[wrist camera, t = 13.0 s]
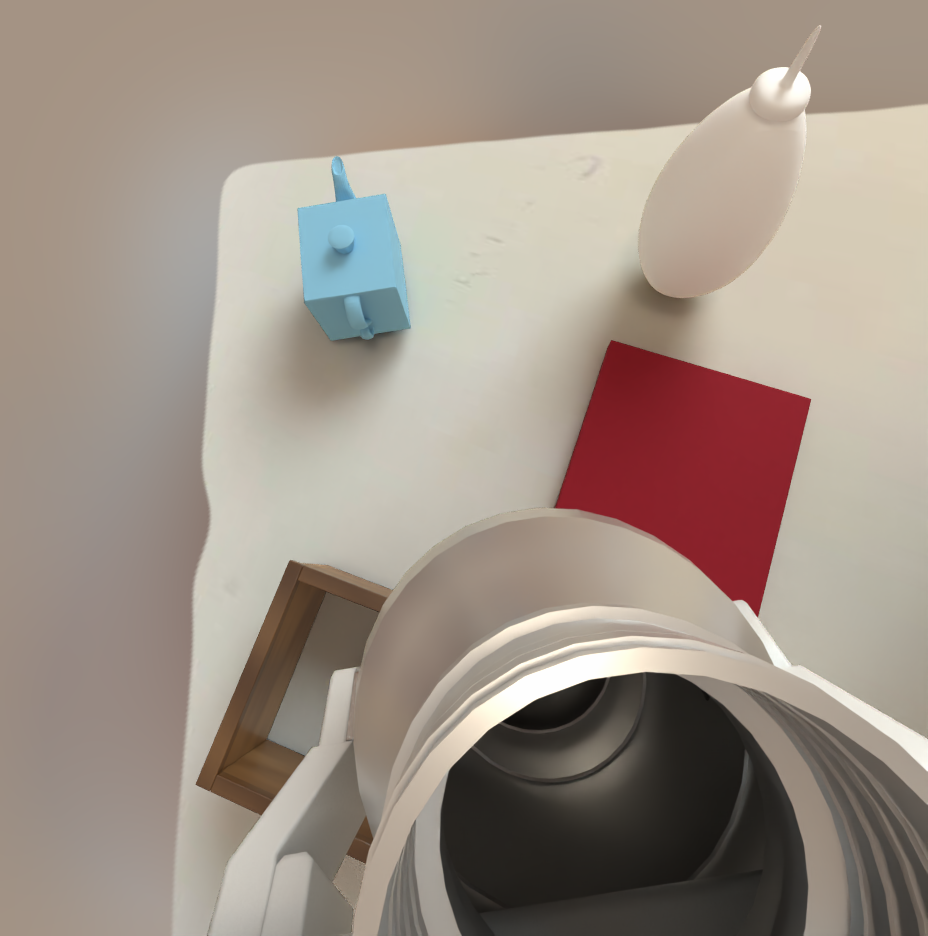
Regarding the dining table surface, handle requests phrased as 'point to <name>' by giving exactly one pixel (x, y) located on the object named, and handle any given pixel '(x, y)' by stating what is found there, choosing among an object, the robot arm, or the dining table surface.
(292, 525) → the dining table surface
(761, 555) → the cushion mat
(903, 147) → the dining table surface
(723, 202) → the white air blower bulb
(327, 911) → the robot arm
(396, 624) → the metal bottle
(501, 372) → the dining table surface
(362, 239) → the teapot
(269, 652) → the wooden box
